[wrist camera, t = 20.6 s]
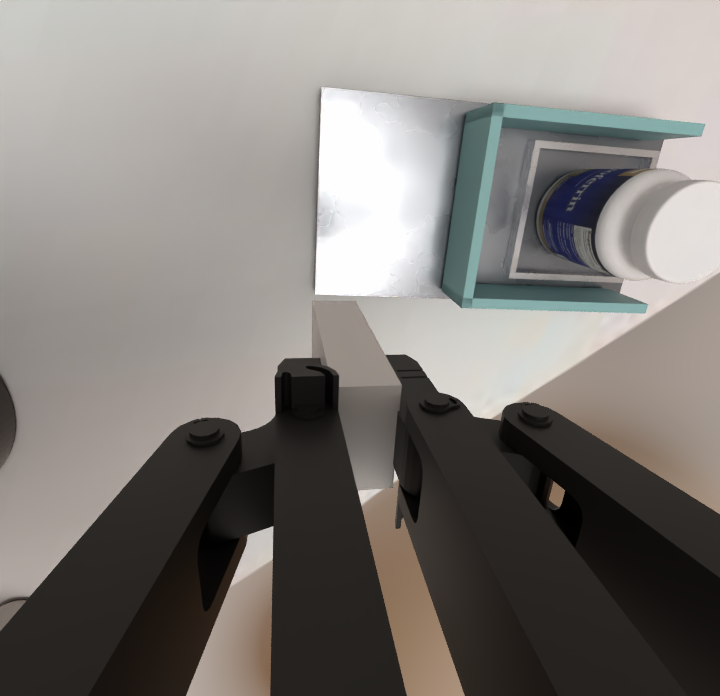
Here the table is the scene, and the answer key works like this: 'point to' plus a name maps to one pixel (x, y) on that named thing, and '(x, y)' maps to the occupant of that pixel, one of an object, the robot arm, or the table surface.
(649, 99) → the table surface
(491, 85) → the table surface
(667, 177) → the pill bottle
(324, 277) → the plate
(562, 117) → the housing
